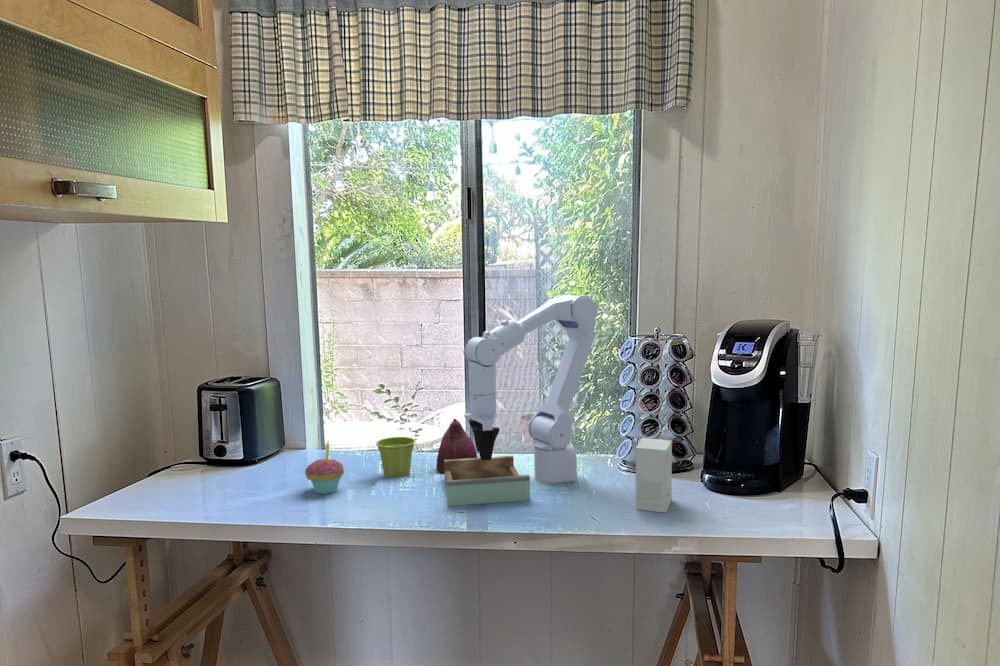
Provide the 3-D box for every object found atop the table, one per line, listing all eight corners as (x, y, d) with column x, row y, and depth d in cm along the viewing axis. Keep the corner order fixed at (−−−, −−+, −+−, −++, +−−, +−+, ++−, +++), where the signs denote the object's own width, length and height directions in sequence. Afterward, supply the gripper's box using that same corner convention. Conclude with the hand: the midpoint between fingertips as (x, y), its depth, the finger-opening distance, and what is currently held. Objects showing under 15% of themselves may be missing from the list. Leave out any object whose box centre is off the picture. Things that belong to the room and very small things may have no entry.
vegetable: (471, 488, 151) (474, 434, 145) (430, 480, 153) (432, 426, 147) (482, 465, 160) (485, 413, 155) (443, 458, 162) (445, 407, 157)
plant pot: (370, 475, 151) (369, 441, 150) (404, 468, 157) (403, 434, 156) (388, 485, 144) (387, 448, 143) (423, 476, 150) (422, 441, 149)
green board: (529, 498, 130) (528, 474, 130) (530, 500, 129) (529, 476, 128) (446, 504, 127) (446, 480, 127) (447, 506, 126) (446, 482, 126)
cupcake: (352, 489, 141) (350, 438, 140) (318, 500, 135) (316, 446, 134) (331, 481, 147) (329, 432, 146) (298, 491, 141) (296, 439, 140)
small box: (641, 496, 134) (642, 437, 133) (672, 500, 131) (672, 440, 130) (634, 509, 127) (634, 447, 125) (666, 513, 124) (667, 450, 123)
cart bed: (513, 480, 146) (512, 455, 145) (526, 505, 130) (526, 477, 129) (444, 485, 143) (444, 459, 143) (450, 510, 128) (449, 482, 127)
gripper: (460, 388, 139) (462, 447, 140) (467, 400, 125) (469, 466, 126) (492, 386, 140) (493, 445, 141) (502, 399, 126) (503, 464, 127)
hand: (483, 455), depth 134 cm, fingers open, 6 cm apart
